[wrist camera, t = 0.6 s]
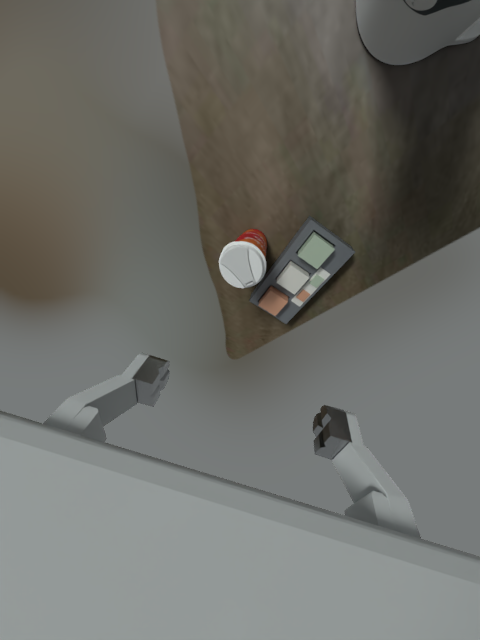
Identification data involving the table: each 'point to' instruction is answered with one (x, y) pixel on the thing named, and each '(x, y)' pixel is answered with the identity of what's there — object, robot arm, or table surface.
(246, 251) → the paper cup
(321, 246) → the key sage
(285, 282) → the key white
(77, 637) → the robot arm
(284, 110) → the table surface
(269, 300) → the key terracotta
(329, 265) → the keypad housing
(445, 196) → the table surface
